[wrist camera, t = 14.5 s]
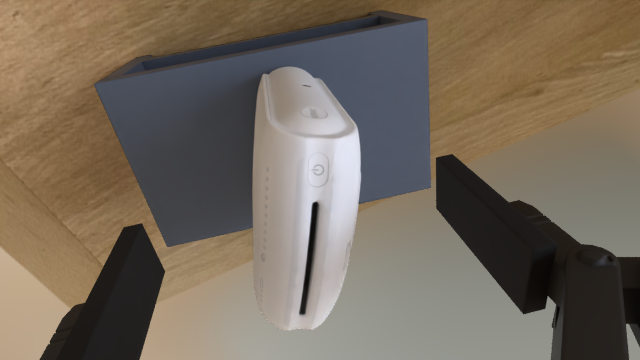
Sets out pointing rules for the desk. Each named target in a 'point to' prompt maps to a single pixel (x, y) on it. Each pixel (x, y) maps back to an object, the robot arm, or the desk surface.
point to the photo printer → (302, 198)
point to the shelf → (240, 109)
